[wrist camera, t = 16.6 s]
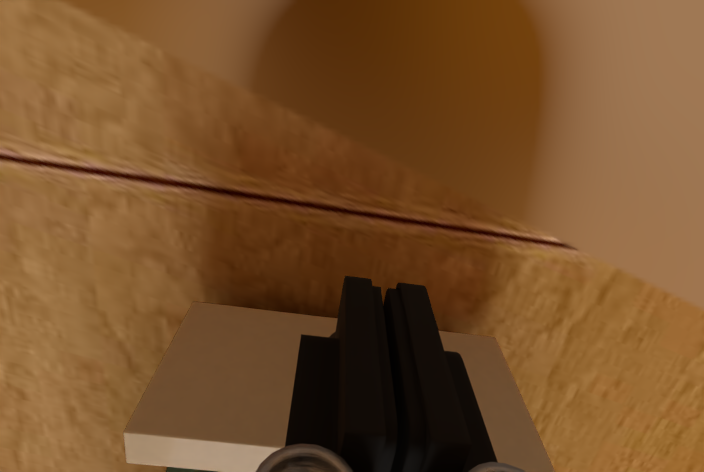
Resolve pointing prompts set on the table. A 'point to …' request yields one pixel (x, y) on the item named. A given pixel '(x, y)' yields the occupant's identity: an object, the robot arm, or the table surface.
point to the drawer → (282, 393)
